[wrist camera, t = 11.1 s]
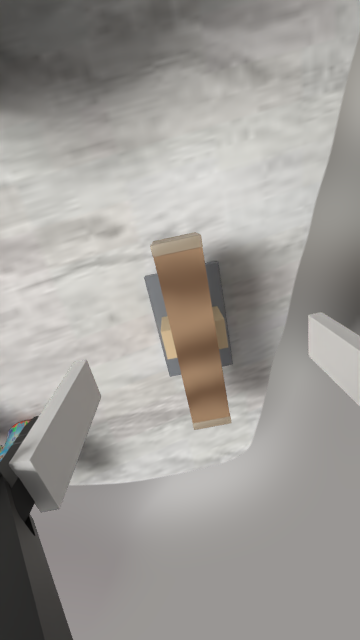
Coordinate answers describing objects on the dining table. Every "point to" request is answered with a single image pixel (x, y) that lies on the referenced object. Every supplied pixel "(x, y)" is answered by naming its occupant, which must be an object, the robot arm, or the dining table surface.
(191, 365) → the beam
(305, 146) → the dining table surface
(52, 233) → the dining table surface
